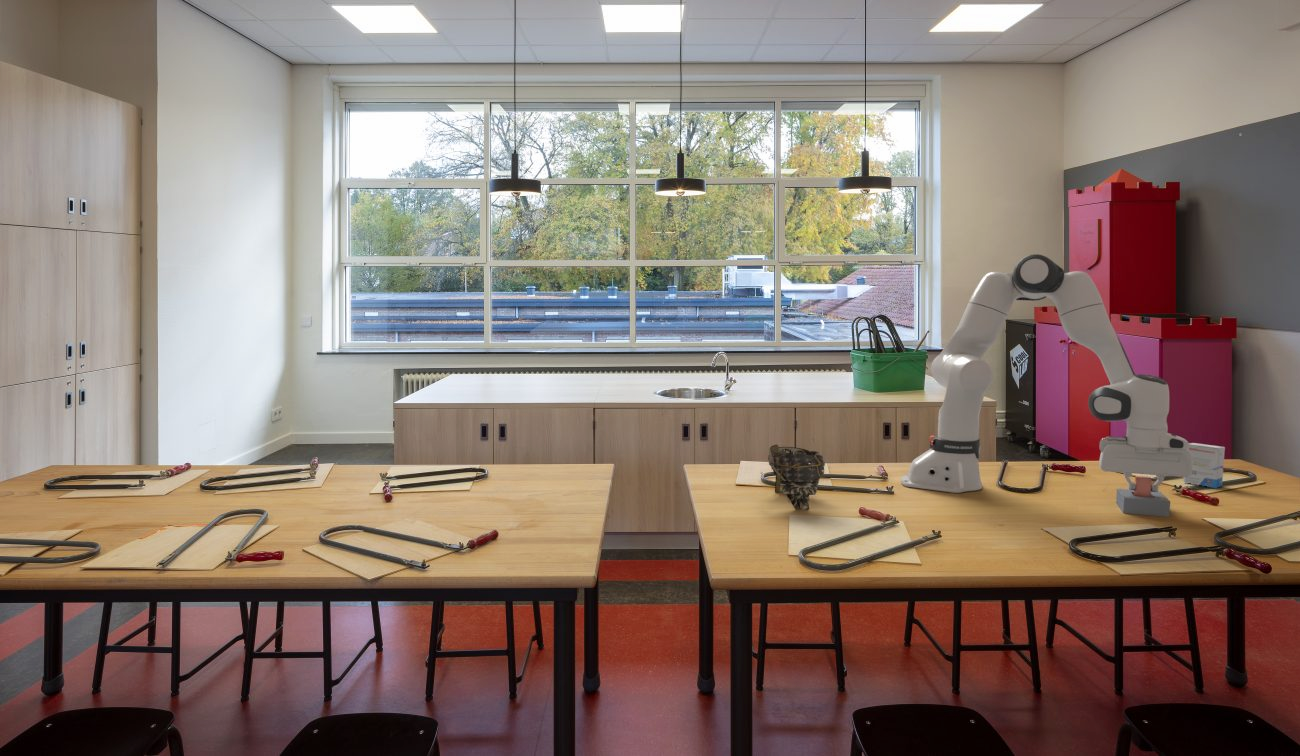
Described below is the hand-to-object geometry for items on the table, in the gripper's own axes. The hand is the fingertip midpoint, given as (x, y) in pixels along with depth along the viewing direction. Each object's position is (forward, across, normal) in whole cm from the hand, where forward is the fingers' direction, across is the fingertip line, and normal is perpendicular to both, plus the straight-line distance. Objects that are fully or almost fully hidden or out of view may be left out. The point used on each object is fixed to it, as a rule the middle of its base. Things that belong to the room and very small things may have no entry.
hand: (1142, 490), depth 199 cm
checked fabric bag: (+6, -86, -21) cm, 89 cm away
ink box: (+5, +22, +36) cm, 43 cm away
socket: (+5, 0, 0) cm, 5 cm away
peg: (+4, 0, 0) cm, 4 cm away
